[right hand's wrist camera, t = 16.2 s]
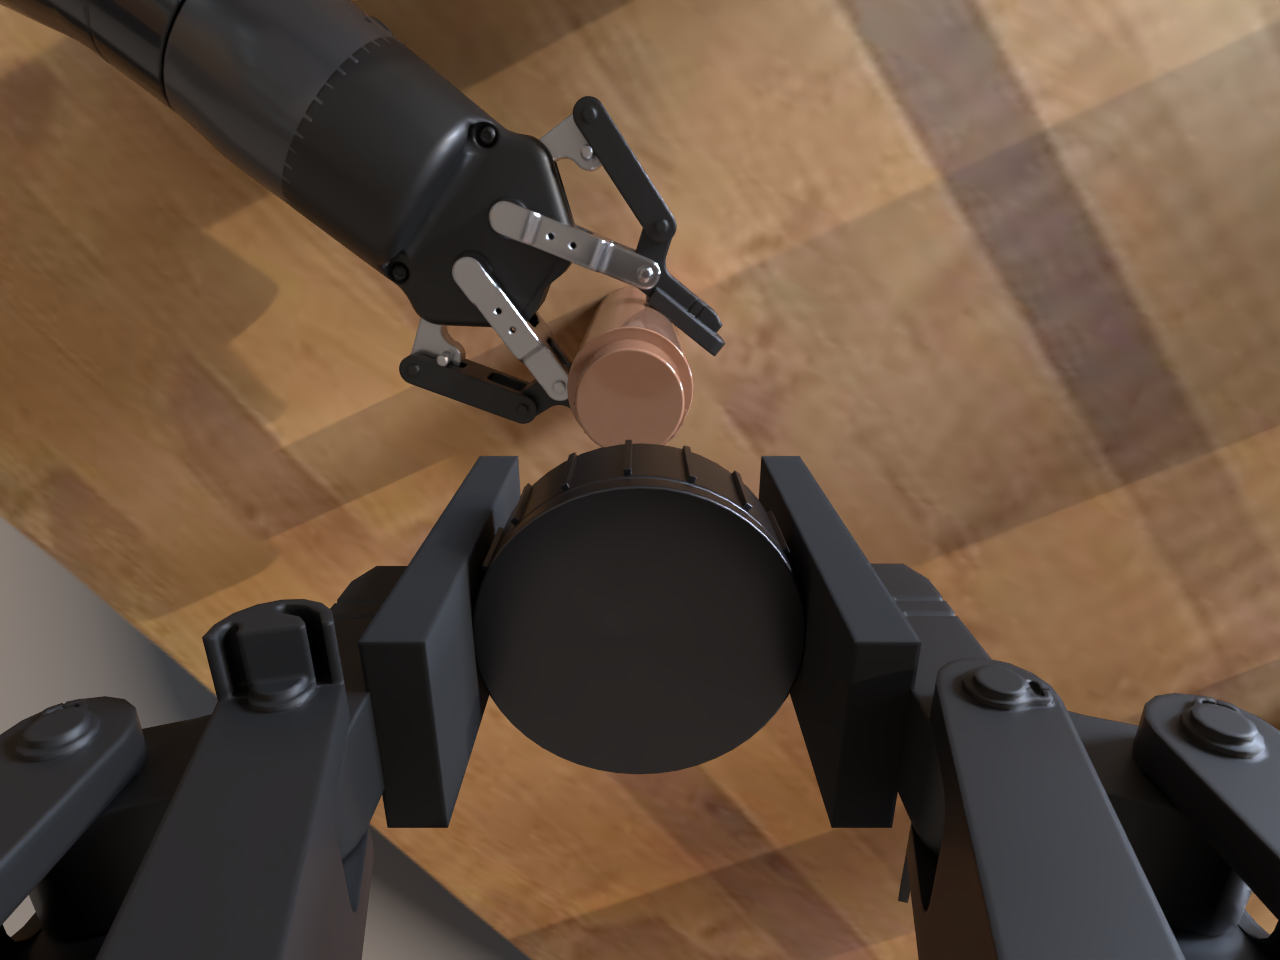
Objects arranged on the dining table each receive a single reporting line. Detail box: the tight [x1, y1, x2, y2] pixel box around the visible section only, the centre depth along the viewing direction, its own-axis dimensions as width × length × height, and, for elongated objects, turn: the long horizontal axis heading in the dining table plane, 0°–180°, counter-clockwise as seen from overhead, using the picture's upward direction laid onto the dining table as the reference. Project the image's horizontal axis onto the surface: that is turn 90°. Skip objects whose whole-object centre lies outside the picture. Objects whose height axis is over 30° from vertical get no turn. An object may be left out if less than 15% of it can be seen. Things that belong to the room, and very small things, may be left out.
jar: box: [567, 287, 693, 448], centre depth 29 cm, size 4×4×15 cm
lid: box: [472, 440, 807, 774], centre depth 11 cm, size 5×5×2 cm
